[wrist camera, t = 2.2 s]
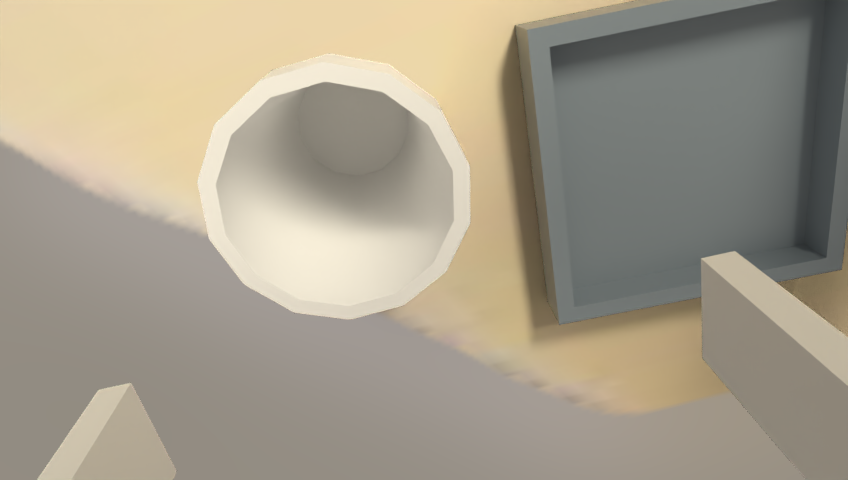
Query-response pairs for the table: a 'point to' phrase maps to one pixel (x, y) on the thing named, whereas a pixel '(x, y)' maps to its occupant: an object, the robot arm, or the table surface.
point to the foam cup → (336, 188)
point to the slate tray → (685, 145)
